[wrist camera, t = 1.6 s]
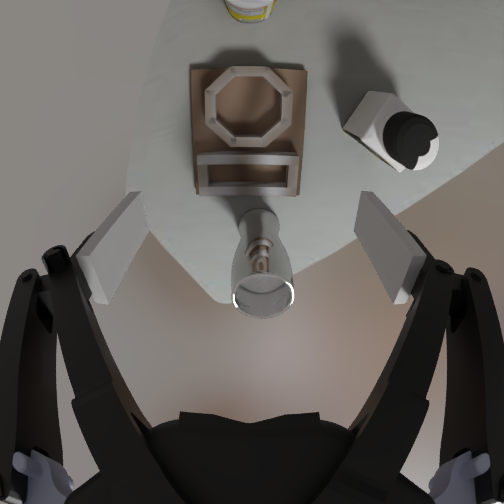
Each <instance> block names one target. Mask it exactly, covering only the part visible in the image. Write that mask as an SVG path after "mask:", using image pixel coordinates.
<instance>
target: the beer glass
mask: <svg viewBox="0 0 504 504" xmlns="http://www.w3.org/2000/svg"><path fill="white" fill-rule="evenodd" d="M238 228H239V234H240V237H241V238H240V242H239V244H238V247H237V249H236V252H235V255H234V258H233V262H232V270H231V289H232V294H231V298H232V302H233V305H234V306H235V307H236V309H237V310H238V311H239V312H241V313H242V314H244V315H246V316H249V317H252V318H259V319H263V318H264V319H265V318H272V317H275V316H278V315H280V314H282V313H283V312H285V311H286V310H287V309H288V308H289V307H290V306H291V305H292V303H293V301H294V296H295V293H294V286H293V285H294V284H293V273H292V267H291V263H290V259H289V256H288V254H287V251H286V249H285V247H284V245H283V243H282V242H281V240H280V238H279V230H280V224H279V220H278V218H277V217H276V216H275V215H274V214H273V213H272V212H270V211H269V210H266V209H253V210H250V211H248V212H247V213H245V214H244V215H243V216H242V218H241V219H240V221H239V226H238Z"/></svg>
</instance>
